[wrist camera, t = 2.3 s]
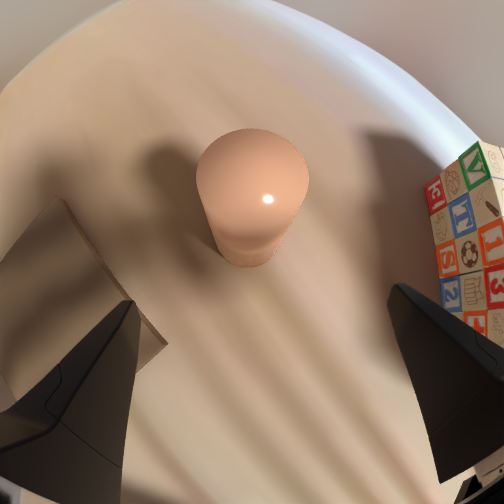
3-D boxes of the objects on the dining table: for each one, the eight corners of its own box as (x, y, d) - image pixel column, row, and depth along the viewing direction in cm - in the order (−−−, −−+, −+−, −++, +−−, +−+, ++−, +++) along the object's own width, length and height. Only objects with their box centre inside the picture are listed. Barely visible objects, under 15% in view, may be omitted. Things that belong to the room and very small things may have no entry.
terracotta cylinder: (293, 236, 22) (330, 178, 13) (246, 281, 22) (250, 252, 12) (248, 192, 23) (254, 112, 13) (201, 233, 22) (173, 172, 12)
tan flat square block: (168, 343, 20) (163, 345, 19) (58, 442, 17) (50, 447, 16) (64, 201, 22) (56, 195, 21) (-20, 309, 20) (-29, 307, 18)
